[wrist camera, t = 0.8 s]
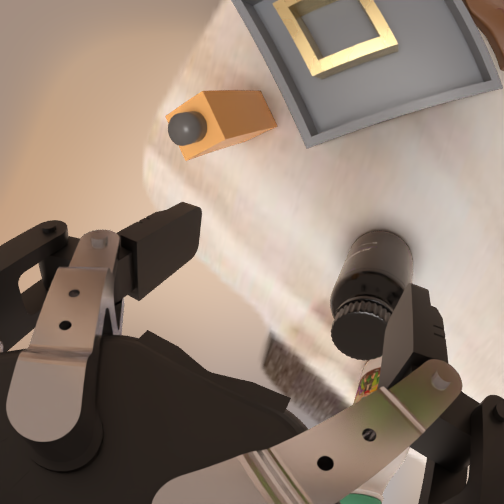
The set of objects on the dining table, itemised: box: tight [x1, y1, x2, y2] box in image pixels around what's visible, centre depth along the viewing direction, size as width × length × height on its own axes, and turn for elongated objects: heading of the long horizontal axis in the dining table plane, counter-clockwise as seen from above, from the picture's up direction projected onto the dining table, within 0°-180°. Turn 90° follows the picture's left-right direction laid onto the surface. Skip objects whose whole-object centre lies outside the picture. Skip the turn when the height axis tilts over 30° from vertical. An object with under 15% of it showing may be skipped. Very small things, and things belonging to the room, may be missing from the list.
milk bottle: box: [340, 356, 410, 504], centre depth 28 cm, size 8×8×20 cm
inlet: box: [272, 0, 398, 79], centre depth 20 cm, size 7×7×4 cm
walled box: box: [231, 0, 503, 148], centre depth 20 cm, size 18×16×4 cm
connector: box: [165, 90, 277, 161], centre depth 25 cm, size 4×4×12 cm
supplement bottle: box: [330, 231, 413, 360], centre depth 26 cm, size 7×7×12 cm
